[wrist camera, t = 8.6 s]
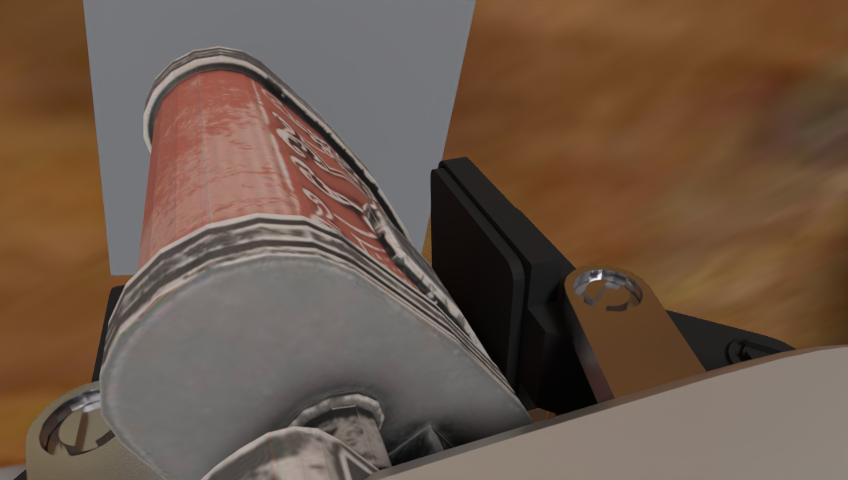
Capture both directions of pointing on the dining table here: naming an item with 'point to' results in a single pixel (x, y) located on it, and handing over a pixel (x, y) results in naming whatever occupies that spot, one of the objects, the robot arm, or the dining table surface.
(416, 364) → the lighter
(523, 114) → the dining table surface
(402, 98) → the gray block
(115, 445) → the robot arm
